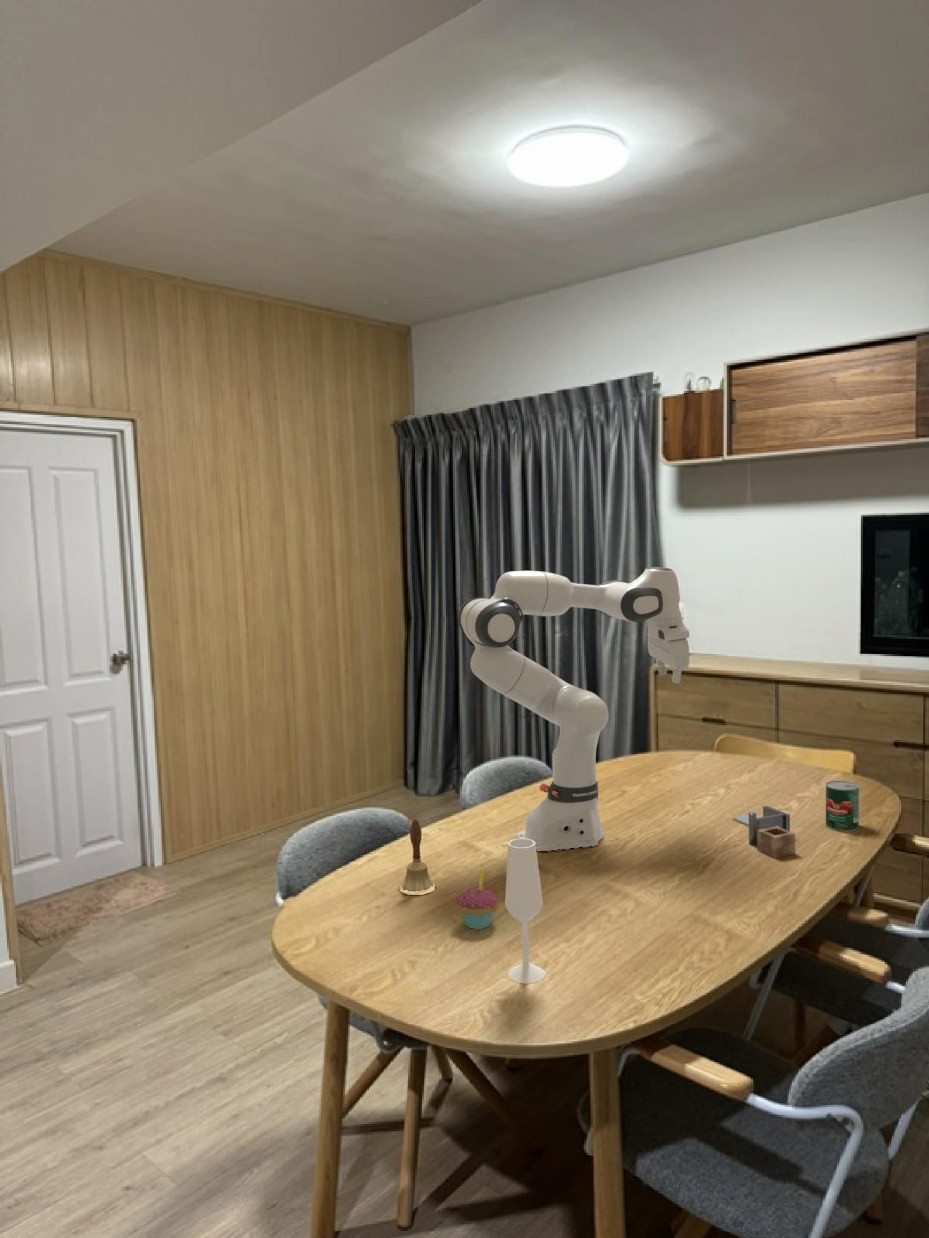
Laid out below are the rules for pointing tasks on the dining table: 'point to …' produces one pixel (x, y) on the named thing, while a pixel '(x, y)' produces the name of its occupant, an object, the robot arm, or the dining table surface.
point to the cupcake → (477, 905)
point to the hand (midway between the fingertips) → (669, 678)
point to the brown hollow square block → (776, 842)
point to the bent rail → (767, 822)
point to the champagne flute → (523, 901)
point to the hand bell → (416, 864)
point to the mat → (744, 819)
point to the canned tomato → (842, 806)
